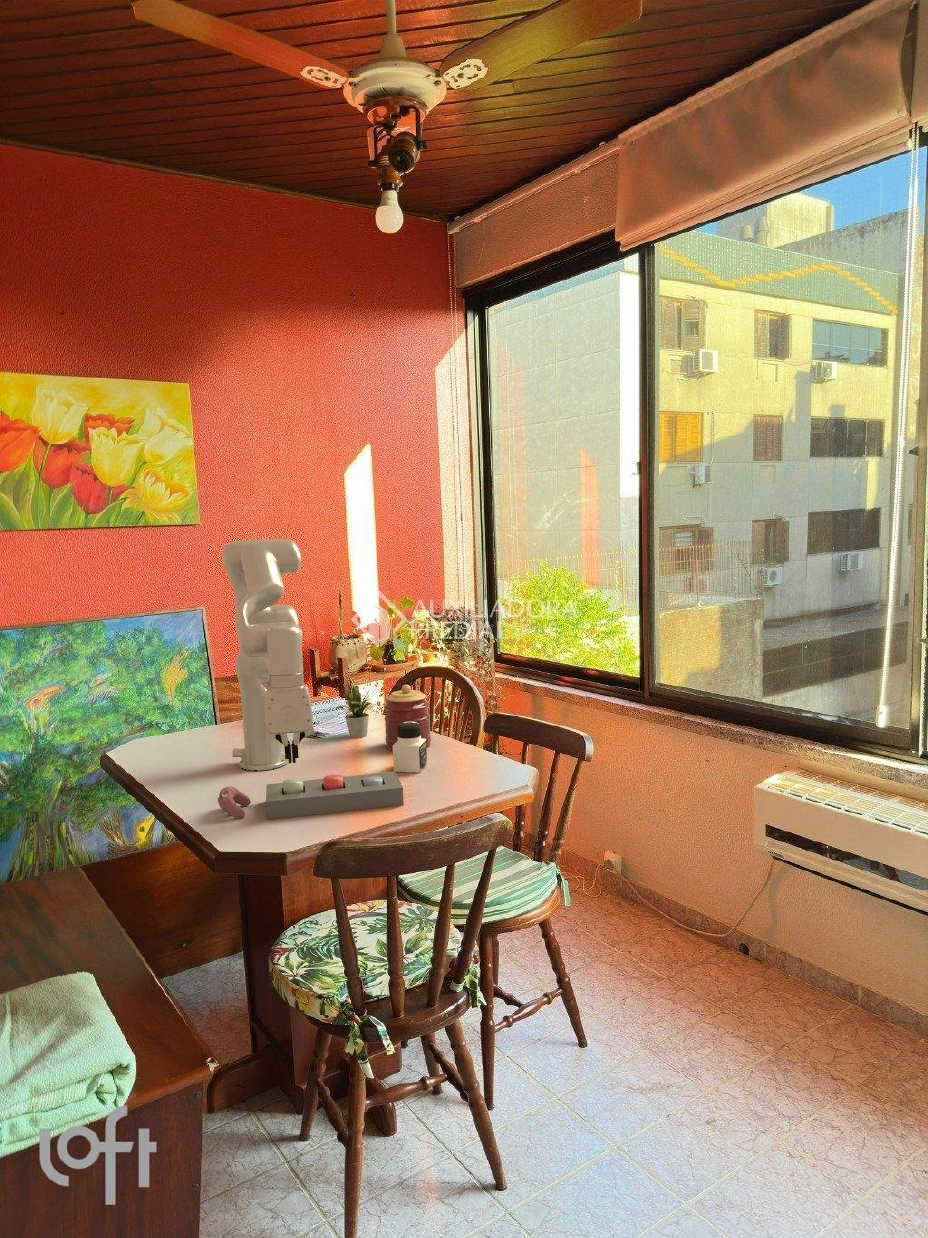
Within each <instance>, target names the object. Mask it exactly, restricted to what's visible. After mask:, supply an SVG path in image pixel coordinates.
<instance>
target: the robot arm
mask: <svg viewBox="0 0 928 1238" xmlns="http://www.w3.org/2000/svg"><path fill="white" fill-rule="evenodd" d="M222 562H223V566H224V569H225V573H226V575H227V578H228V580H229V582H230V584H231V586H232V590H233V593H234V600H235V601H234V603H235V612H236V613H235V630H236V635H237V640H238V646H239V649H240V652H239V653H238V654H237V655H236V657H235V661H234V662H235V663H234V667H235V672H236V676H237V680H238V681H237V682H238V687H239V691H240V700H241V703H240V704H241V713H242V728H243V731H242V732H243V743H244V744H243V745H244V748H239V747H238V748H233V749H232V757H233V758H241V760H240V761H239V767H240V769H242V768H243V769H242V770H245V769H246V771H254V770H257V771H267V770H273V768H274V769H277V768H282V767H283V766H286V764H287V763H288V765H289V764H290V765H291V764H292V763H293V764H296V763H297V760H296V759H299V758H300V757H299V744H300V743H301V741H302V740H303V739H304V738H305V737H309V736H312V735H313V734H315V728H314V725H313V724H314V720H313V719H314V718H313V708H312V699H311V694H310V691H309V687H308V685H307V684H305V679H304V661H303V650H302V649H303V647H302V645H303V640H304V639H303V638H304V637H303V631H302V629H301V628H300V621H299V615H298V613H297V611H296V609H295V608H294V606H291V605H289V604H277V603H278V602H279V601H281V599H283V597H284V595H285V585H284V582H283V579H282V575H283V574H285V575H287V574H288V575H289V574H296V573H298V572H299V571H300V569H301V567H302V554H301V551H300V548H299V546H298V544H297V542H295V541H293V540H292V539H287V538H272V539H249V540H248V539H247V540H237V541H236V540H235V541H232V542H231V541H230V542H229V543H227V544H225V545H224V547H223V550H222ZM276 604H277V605H276ZM288 734H293V739H292V741H289V738H288ZM290 742H291V743H290ZM282 745H283V747H284V748H283V749H284V754H282ZM282 765H283V766H282Z"/></svg>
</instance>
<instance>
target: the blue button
mask: <svg viewBox="0 0 928 1238" xmlns="http://www.w3.org/2000/svg"><path fill="white" fill-rule="evenodd" d="M382 784H383V780H382V777H379V776H371V777H366V778H364V779H363V785H364V786H372V785H382Z"/></svg>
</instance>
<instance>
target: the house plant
mask: <svg viewBox="0 0 928 1238" xmlns="http://www.w3.org/2000/svg"><path fill="white" fill-rule="evenodd" d="M359 685H360V684H358V685H357V686H355V685H354V684H351V690H350V688H349V687H348V686H347V685H345V684H343V686H344V687H345V688H346V691H347V694H348V695H347V694H346V693H343V692H342V691H340V692H338V694H339V695H341V696H342V697H343V698H344V699H345V700H346V701H345V704H347V705H341V704H339V706H337V707H336V710H335V711H337V710H338V709H341V708H344V707H345V708H347V711H348V712H350V711H351V713H349V714H348V713H347V714H346V715H345V716H344V718H345V721H346V726H347V730H348V735H349V738H352V739H359V738H365V737H367V735H368V729H369V718H370V714H368V713H366V712H367V710H369V709H371V707H373V708H374V707H377V706H376V705H372V706H369V705H371V704H373V703H372V702H367V701H371V699H369V698H368V697H369V696H370V694H369V692H370V690H372V689H371V688H372V687H370V688H369V690H367V693H366V695H365V697H364V698H363V700H362V693H361V692H360V691H359ZM376 690H377V689H374V690H372V692H371V693H373V692H374V691H376ZM336 691H339V690H337V689H336ZM361 702H362V703H361ZM333 704H336V705H337V703H333ZM368 706H369V707H368ZM345 708H344V709H345ZM345 710H346V709H345Z"/></svg>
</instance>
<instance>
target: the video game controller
mask: <svg viewBox="0 0 928 1238" xmlns="http://www.w3.org/2000/svg"><path fill="white" fill-rule="evenodd" d="M218 795H219V797H218V798H217V803H218V806H219V807H220V810H222V812H224V813H226V814H227V815H229V816H231V817H233V818H235V819H243V818H244V817H245V816H246V812H245V810H244V808H242V807H241V806H243V805H249V804H252V803H251V802H252V801H251V798H250V797H249V796H248V795H246V794H245V793H243V792H242V791H240V790H239V789H237V787H235V786H233V785H232V784H231V785H230V786H226V787H223V788H221V789H220V791H219V794H218ZM239 805H240V806H239ZM249 806H250V805H249ZM242 817H243V818H242Z"/></svg>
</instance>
